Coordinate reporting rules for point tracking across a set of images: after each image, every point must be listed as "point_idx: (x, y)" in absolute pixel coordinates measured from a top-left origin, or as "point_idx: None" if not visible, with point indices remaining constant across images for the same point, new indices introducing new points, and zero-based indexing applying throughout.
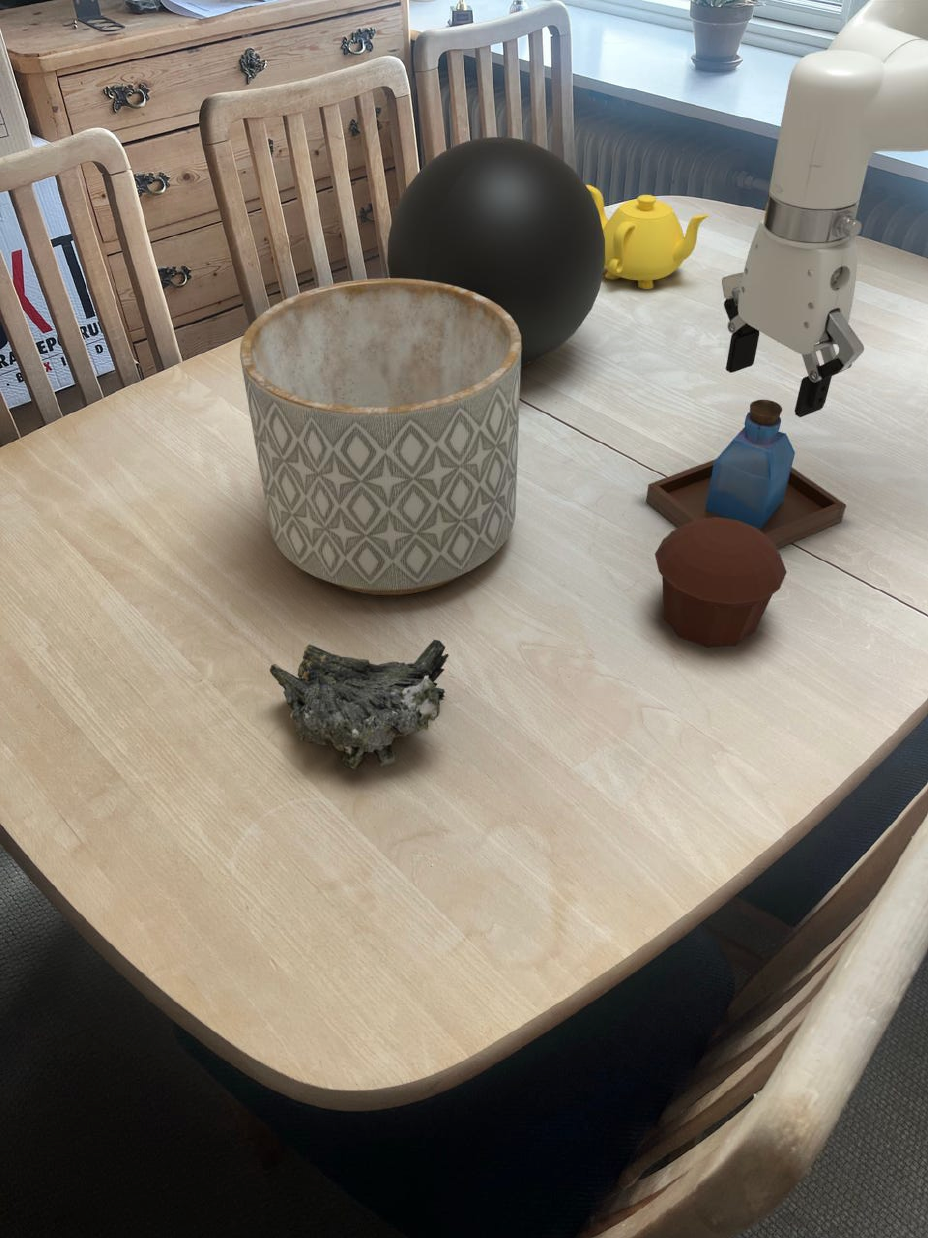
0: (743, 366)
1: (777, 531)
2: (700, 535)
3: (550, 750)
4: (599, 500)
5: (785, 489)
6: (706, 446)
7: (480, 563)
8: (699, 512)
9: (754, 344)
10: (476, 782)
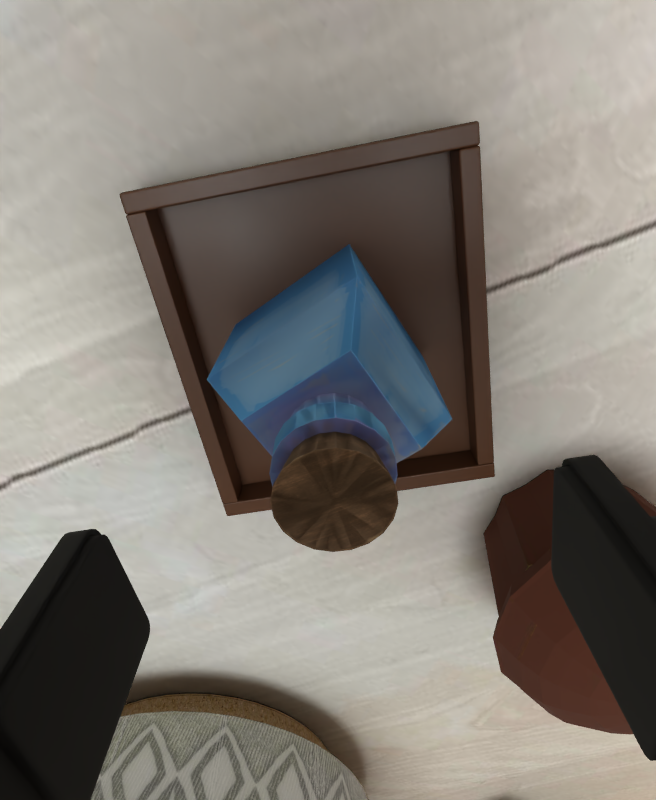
0: (122, 585)
1: (483, 363)
2: (630, 729)
3: (635, 745)
4: (207, 553)
5: (351, 251)
6: (53, 276)
7: (356, 779)
8: None
9: (56, 649)
10: (624, 796)
